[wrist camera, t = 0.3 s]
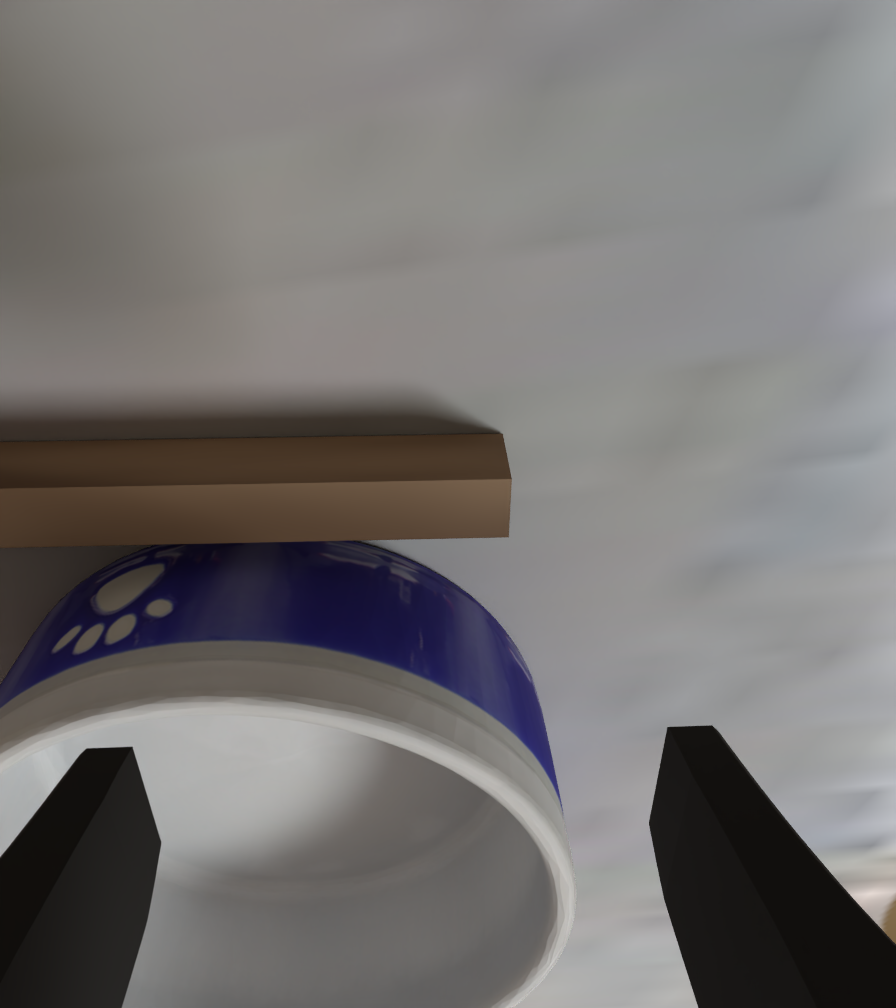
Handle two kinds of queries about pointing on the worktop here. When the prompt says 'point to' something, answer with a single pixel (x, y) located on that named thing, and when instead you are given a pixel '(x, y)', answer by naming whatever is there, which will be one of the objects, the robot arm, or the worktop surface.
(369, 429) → the worktop surface
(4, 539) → the wooden tray
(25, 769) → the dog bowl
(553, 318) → the worktop surface
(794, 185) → the worktop surface
